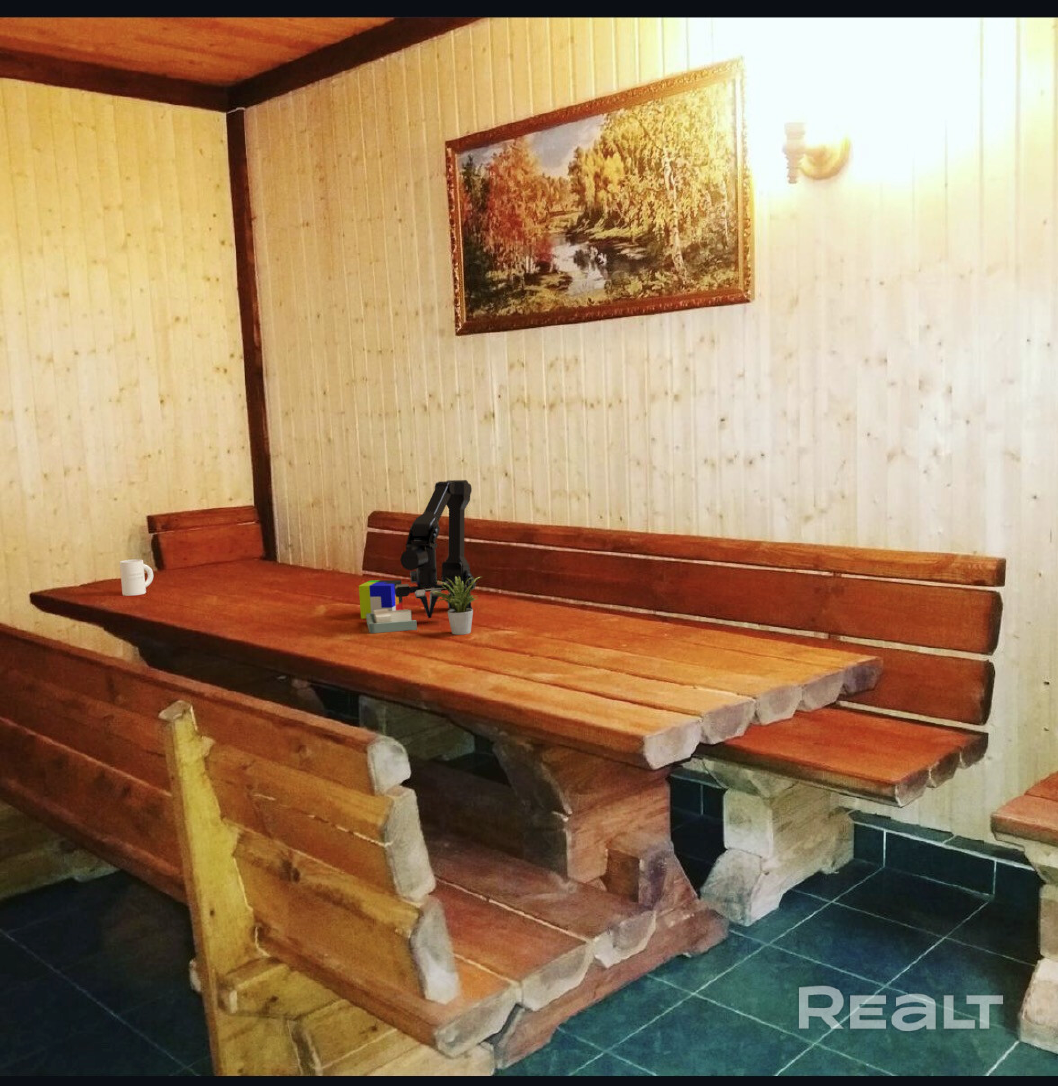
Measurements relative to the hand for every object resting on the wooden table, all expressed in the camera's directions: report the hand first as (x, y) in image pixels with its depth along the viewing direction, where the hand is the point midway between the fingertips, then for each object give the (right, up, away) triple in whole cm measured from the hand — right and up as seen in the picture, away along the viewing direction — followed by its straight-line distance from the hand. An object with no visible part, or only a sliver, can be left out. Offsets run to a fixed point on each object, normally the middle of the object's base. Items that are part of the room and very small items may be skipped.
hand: (429, 617), depth 322 cm
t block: (-11, -2, -2) cm, 12 cm away
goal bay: (-11, -2, -2) cm, 12 cm away
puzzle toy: (-16, -1, +15) cm, 22 cm away
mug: (-112, +3, +80) cm, 137 cm away
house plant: (+11, -3, -15) cm, 19 cm away
